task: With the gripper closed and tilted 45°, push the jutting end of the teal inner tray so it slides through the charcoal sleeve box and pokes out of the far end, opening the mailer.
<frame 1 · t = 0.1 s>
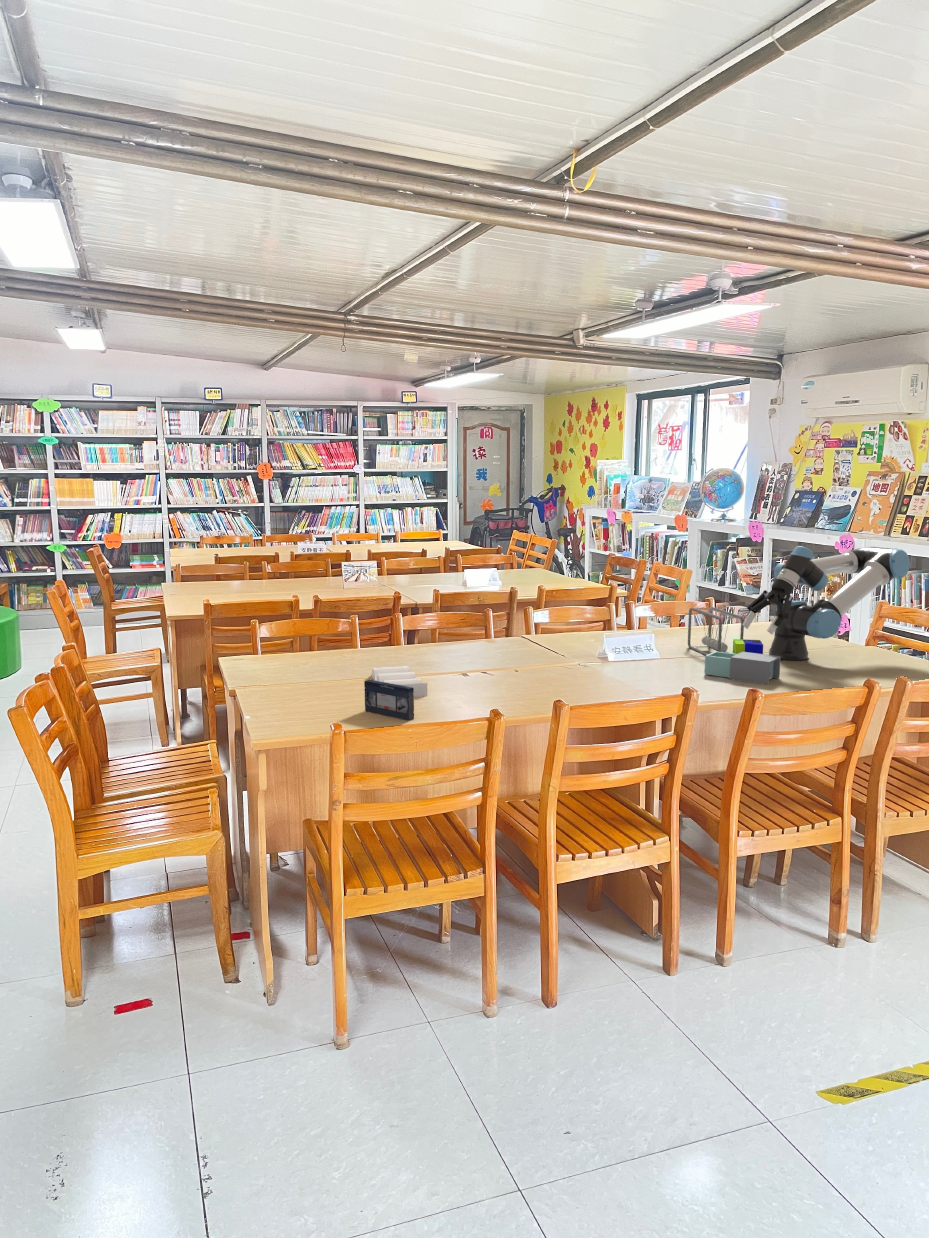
hand: (756, 629, 333), 15 cm above the table, tool tilted 35°, fingers open, 13 cm apart
vhs cassette tape: (389, 715, 271), on the table
puzzle toy: (746, 667, 339), on the table
sleeve: (754, 678, 320), on the table
newton's cradle: (713, 654, 365), on the table
tray: (738, 666, 323), point 4 cm above the table, slide at 0.0 cm
file organizer: (397, 687, 310), on the table
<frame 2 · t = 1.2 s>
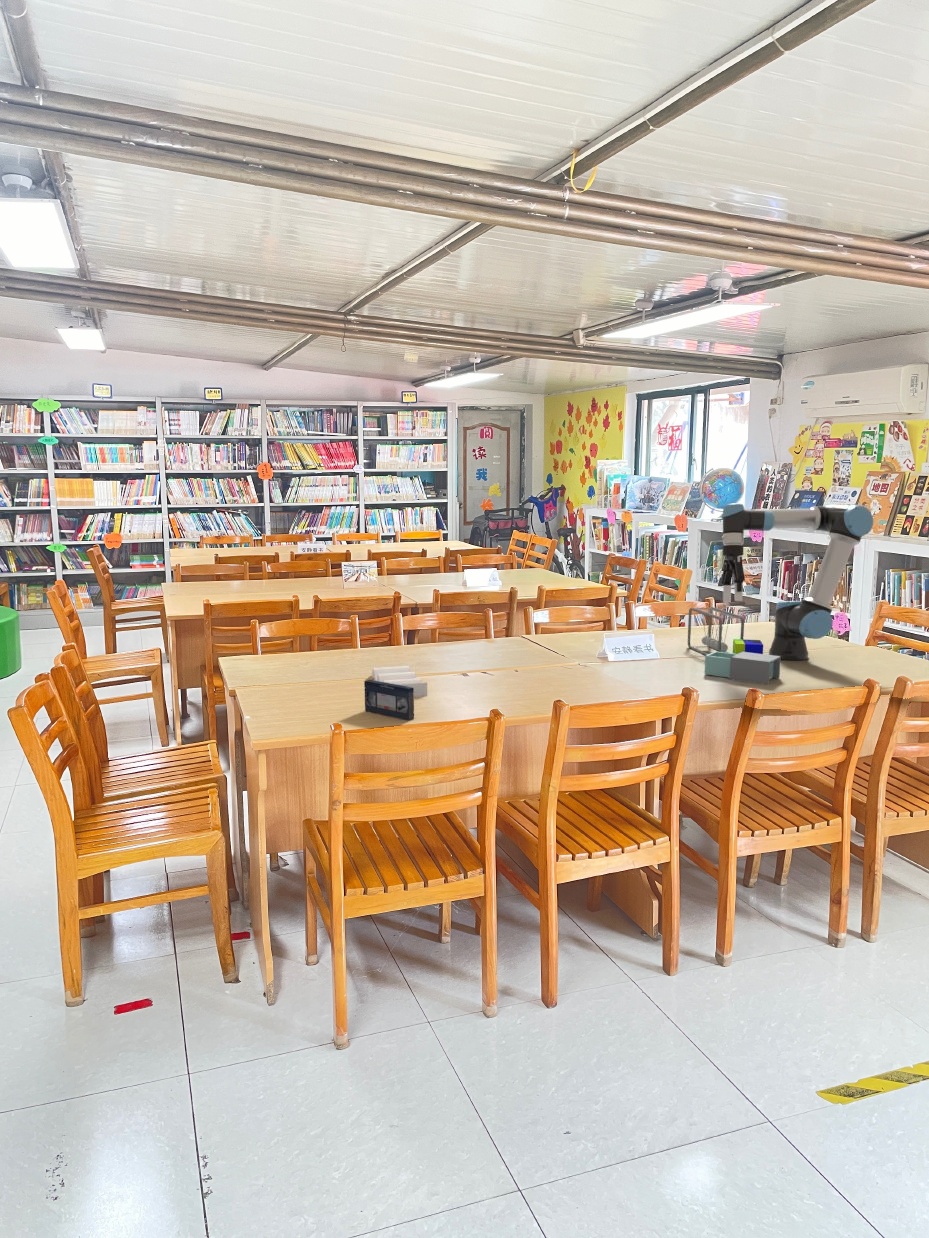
hand: (732, 601, 330), 26 cm above the table, tool pointing down, fingers open, 13 cm apart
nothing on the table moved.
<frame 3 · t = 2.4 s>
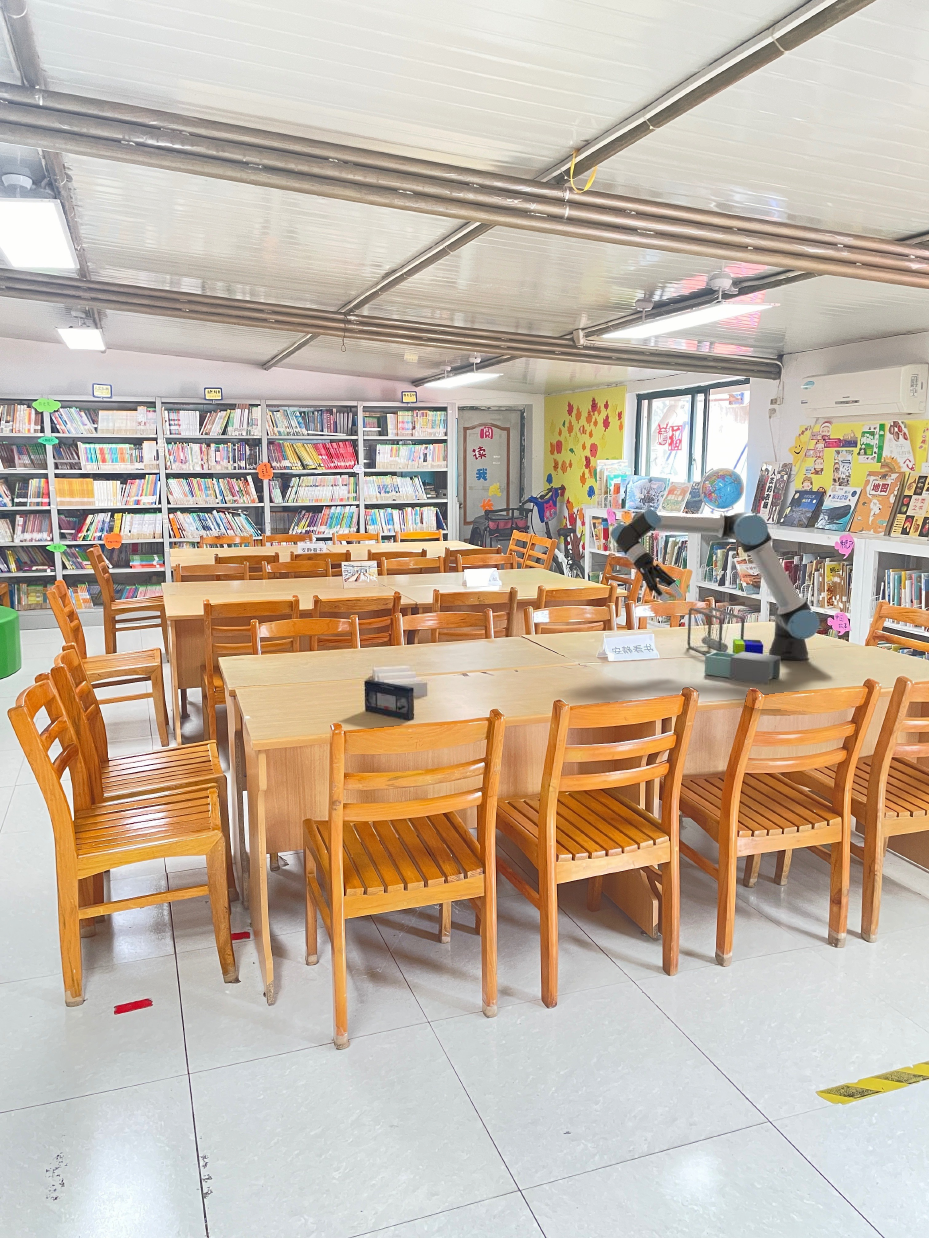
hand: (674, 599, 334), 26 cm above the table, tool tilted 45°, fingers open, 13 cm apart
nothing on the table moved.
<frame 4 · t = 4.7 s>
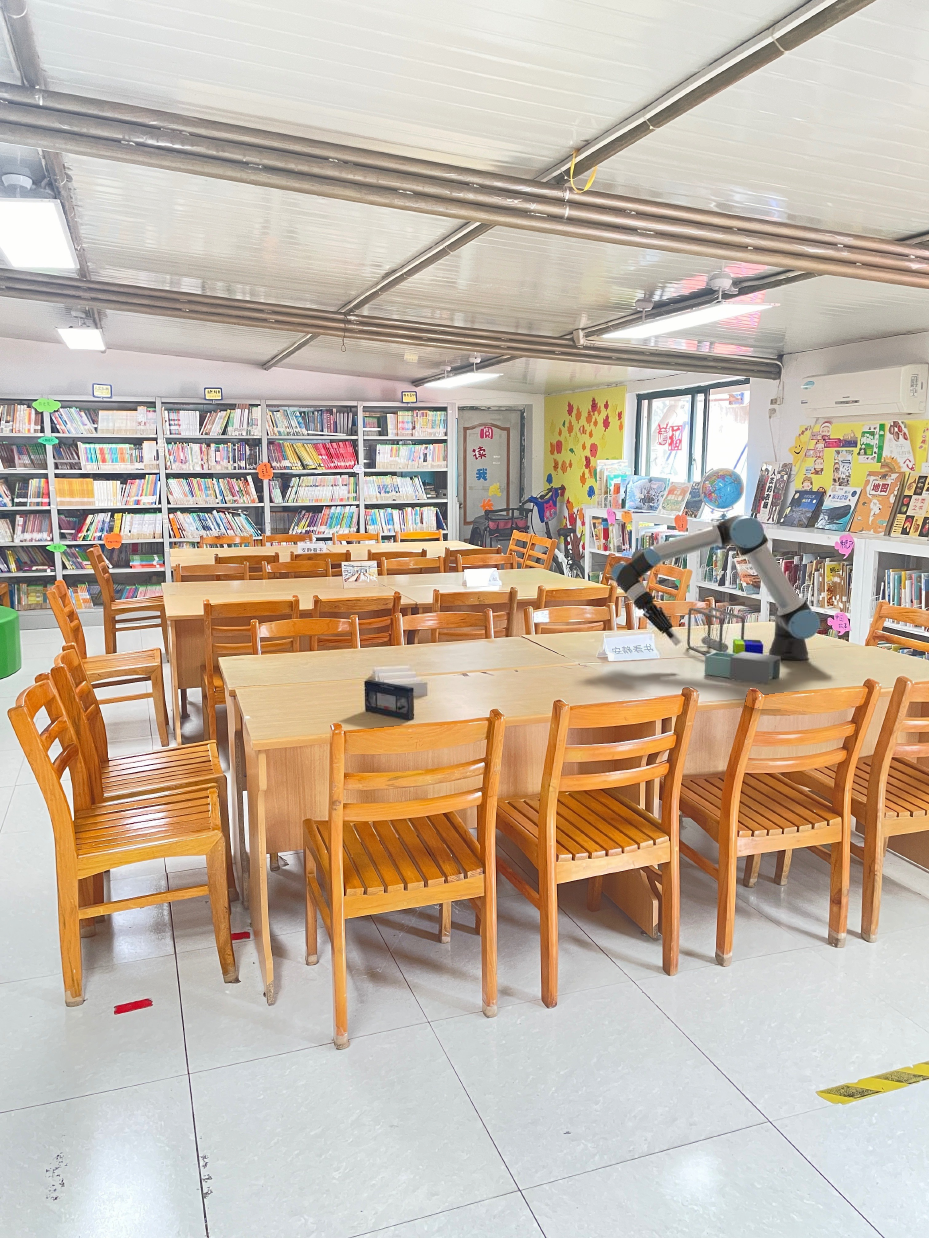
hand: (678, 643, 335), 10 cm above the table, tool tilted 45°, fingers closed
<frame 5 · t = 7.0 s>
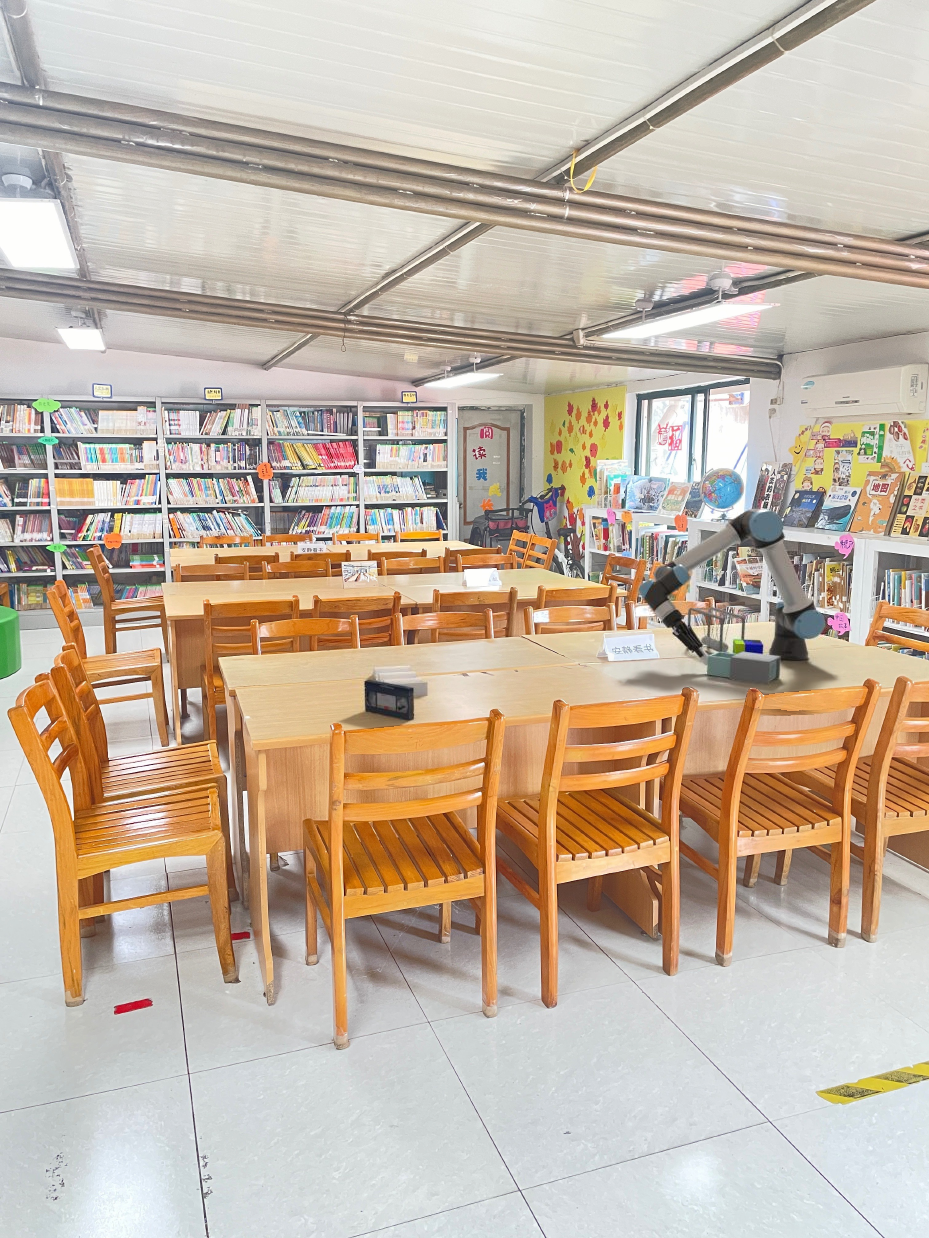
hand: (709, 662, 329), 4 cm above the table, tool tilted 45°, fingers closed
tray: (741, 666, 322), point 4 cm above the table, slide at 1.0 cm, touching gripper
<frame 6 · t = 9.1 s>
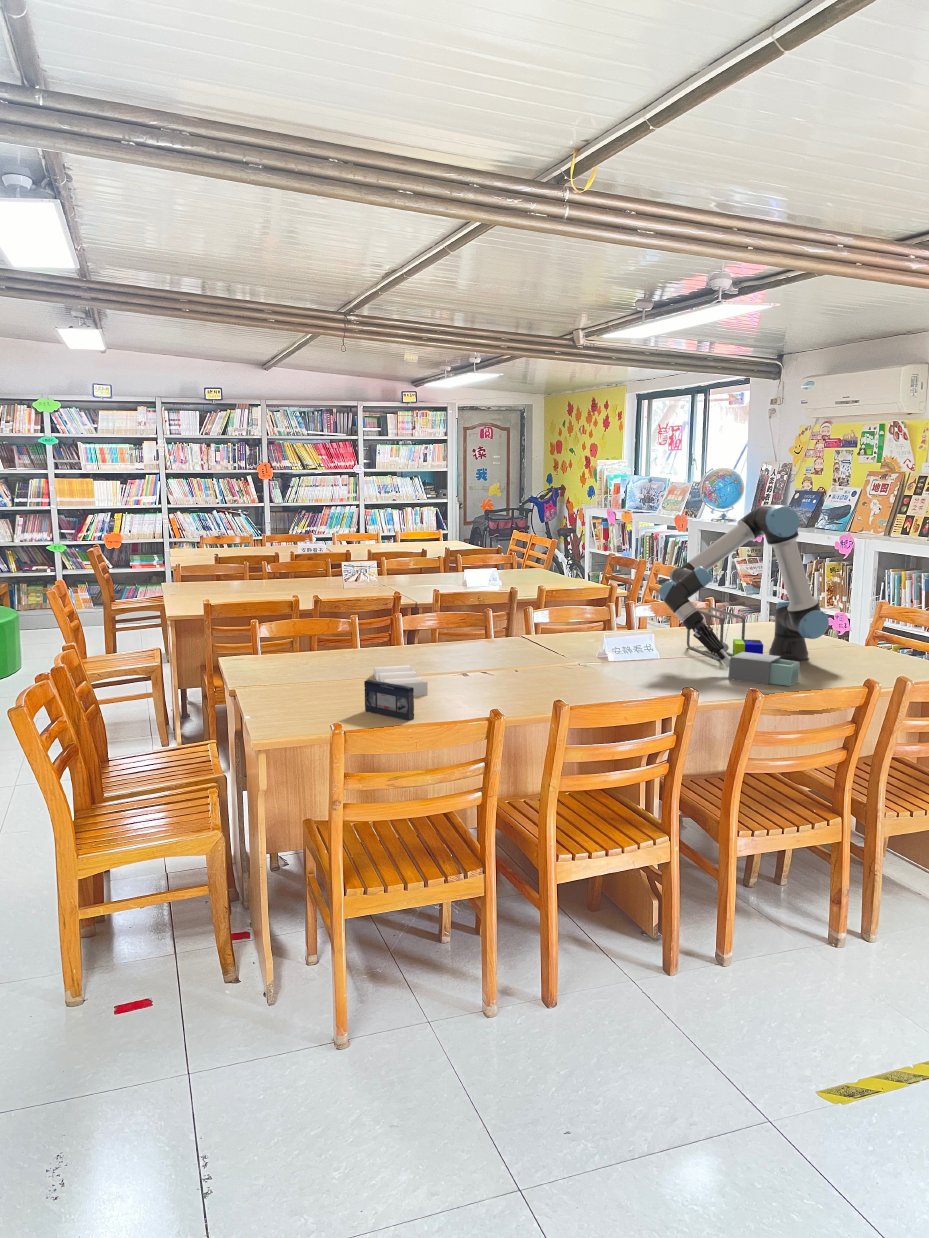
hand: (730, 665, 324), 4 cm above the table, tool tilted 45°, fingers closed
tray: (763, 669, 317), point 4 cm above the table, slide at 9.2 cm, touching gripper
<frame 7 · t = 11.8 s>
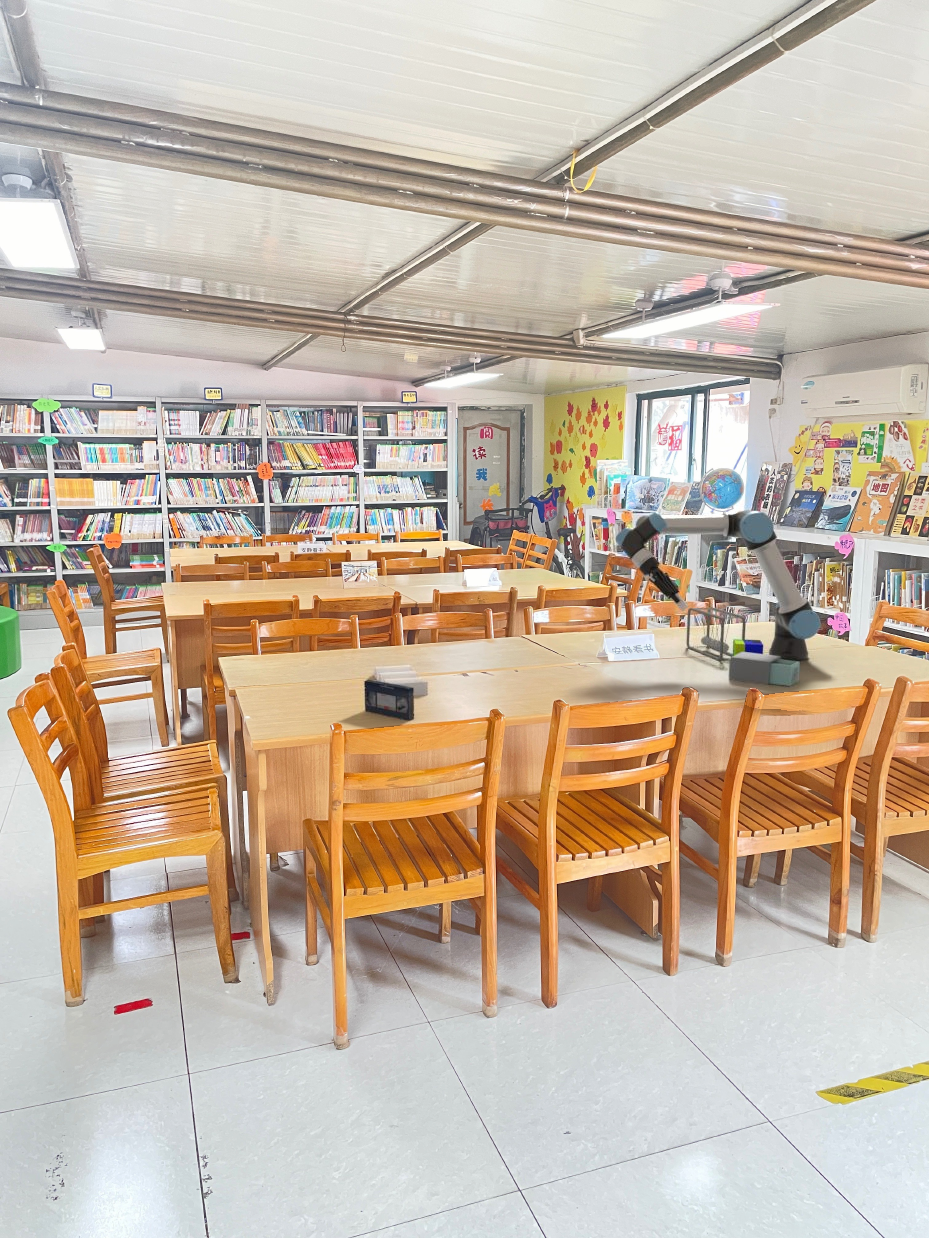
hand: (685, 608, 332), 23 cm above the table, tool tilted 45°, fingers closed
tray: (763, 669, 317), point 4 cm above the table, slide at 9.2 cm
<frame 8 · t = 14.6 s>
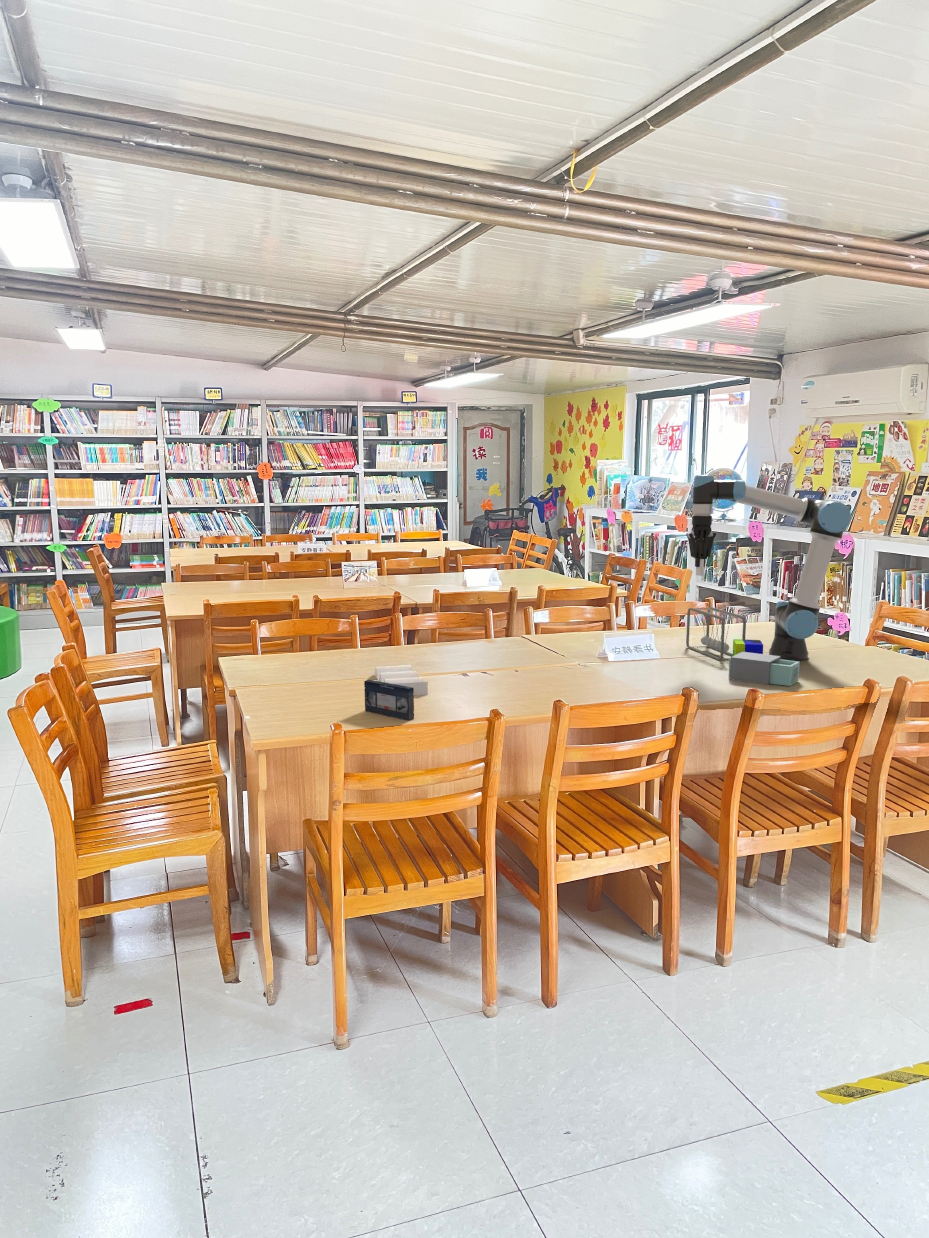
hand: (699, 575, 345), 34 cm above the table, tool pointing down, fingers closed
at the end: tray slide at 9.2 cm; puzzle toy moved 0.3 cm from its start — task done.
